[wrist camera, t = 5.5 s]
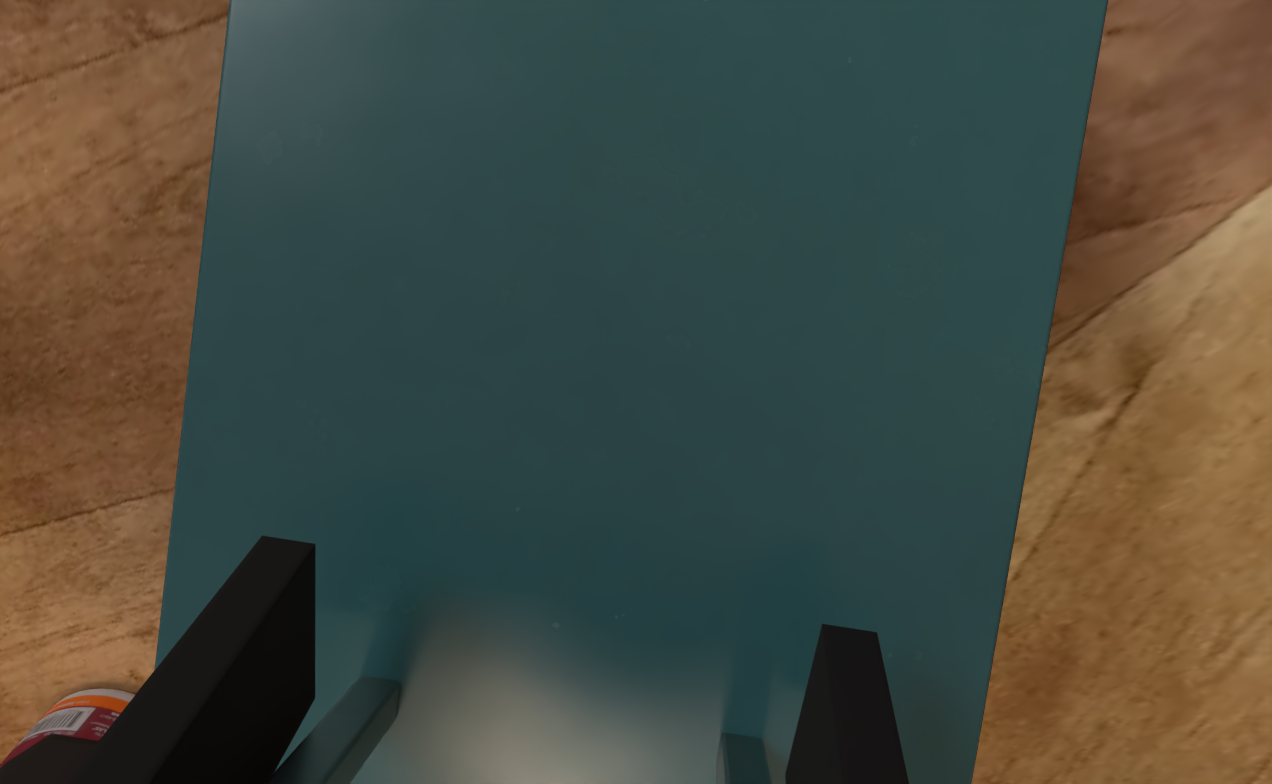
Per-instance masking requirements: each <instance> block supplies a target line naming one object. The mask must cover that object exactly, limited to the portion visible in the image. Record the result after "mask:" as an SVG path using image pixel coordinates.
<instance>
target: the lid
mask: <svg viewBox="0 0 1272 784" xmlns="http://www.w3.org/2000/svg"><path fill="white" fill-rule="evenodd" d="M1107 4H1108V0H230V3H229V12H228V21H227V30H226V39H225V48H224V57H223V65H222V74H221V83H220V92H219V101H218V110H217V119H216V128H215V137H214V146H213V154H212V163H211V172H210V181H209V190H208V199H207V208H206V217H205V226H204V235H203V244H202V252H201V261H200V270H199V279H198V288H197V297H196V306H195V315H194V324H193V333H192V341H191V350H190V359H189V368H188V377H187V386H186V395H185V404H184V413H183V422H182V431H181V439H180V448H179V457H178V466H177V475H176V484H175V493H174V502H173V511H172V520H171V528H170V537H169V546H168V555H167V564H166V573H165V582H164V591H163V600H162V609H161V617H160V626H159V635H158V644H157V653H156V662H155V670H156V668H157V667H158V666H159V664H160V663H161V662H162V661H163V659H164V658H165V657H166V656H167V654H168V653H169V652H170V651H171V649H172V648H173V647H174V646H175V644H176V643H177V642H178V641H179V639H180V638H181V637H182V636H183V634H184V633H185V632H186V631H187V629H188V628H189V627H190V626H191V624H192V623H193V622H194V620H195V619H196V618H197V617H198V615H199V614H200V613H201V612H202V610H203V609H204V608H205V607H206V605H207V604H208V603H209V602H210V600H211V599H212V598H213V597H214V595H215V594H216V593H217V592H218V590H219V589H220V588H221V587H222V585H223V584H224V583H225V582H226V580H227V579H228V578H229V577H230V575H231V574H232V573H233V571H234V570H235V569H236V568H237V566H238V565H239V564H240V563H241V561H242V560H243V559H244V558H245V556H246V555H247V554H248V553H249V551H250V550H251V549H252V548H253V546H254V545H255V544H256V543H257V541H258V540H259V539H260V538H261V536H262V535H263V536H269V537H275V538H282V539H288V540H294V541H301V542H307V543H314V544H316V590H315V700H314V701H313V703H312V705H311V707H310V709H309V710H308V712H307V714H306V716H305V718H304V720H303V721H302V723H301V725H300V727H299V729H298V730H297V732H296V734H295V736H294V738H293V739H292V741H291V743H290V745H289V747H288V748H287V750H286V752H285V754H284V756H283V758H282V759H281V761H280V763H279V765H278V767H277V768H276V770H275V772H274V773H273V775H272V776H271V777H270V778H269V779H268V780H267V781H266V782H265V784H786V779H785V773H786V769H787V765H788V761H789V757H790V753H791V748H792V744H793V740H794V736H795V732H796V728H797V724H798V720H799V716H800V712H801V708H802V704H803V700H804V696H805V691H806V687H807V683H808V679H809V675H810V671H811V667H812V663H813V659H814V655H815V651H816V647H817V643H818V639H819V634H820V630H821V626H822V624H828V625H834V626H840V627H847V628H853V629H859V630H866V631H872V632H877V634H878V639H879V643H880V648H881V653H882V658H883V662H884V667H885V672H886V677H887V681H888V686H889V691H890V696H891V700H892V705H893V710H894V714H895V719H896V724H897V729H898V733H899V738H900V743H901V748H902V752H903V757H904V762H905V767H906V771H907V776H908V781H909V784H971V783H972V777H973V772H974V766H975V760H976V755H977V749H978V743H979V737H980V732H981V726H982V720H983V714H984V709H985V703H986V697H987V692H988V686H989V680H990V674H991V669H992V663H993V657H994V651H995V646H996V640H997V634H998V629H999V623H1000V617H1001V611H1002V606H1003V600H1004V594H1005V588H1006V583H1007V577H1008V571H1009V566H1010V560H1011V554H1012V548H1013V543H1014V537H1015V531H1016V525H1017V520H1018V514H1019V508H1020V503H1021V497H1022V491H1023V485H1024V480H1025V474H1026V468H1027V463H1028V457H1029V451H1030V445H1031V440H1032V434H1033V428H1034V422H1035V417H1036V411H1037V405H1038V400H1039V394H1040V388H1041V382H1042V377H1043V371H1044V365H1045V359H1046V354H1047V348H1048V342H1049V337H1050V331H1051V325H1052V319H1053V314H1054V308H1055V302H1056V296H1057V291H1058V285H1059V279H1060V274H1061V268H1062V262H1063V256H1064V251H1065V245H1066V239H1067V233H1068V228H1069V222H1070V216H1071V211H1072V205H1073V199H1074V193H1075V188H1076V182H1077V176H1078V170H1079V165H1080V159H1081V153H1082V148H1083V142H1084V136H1085V130H1086V125H1087V119H1088V113H1089V107H1090V102H1091V96H1092V90H1093V85H1094V79H1095V73H1096V67H1097V62H1098V56H1099V50H1100V44H1101V39H1102V33H1103V27H1104V22H1105V16H1106V10H1107Z"/></svg>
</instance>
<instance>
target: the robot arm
mask: <svg viewBox="0 0 1272 784" xmlns="http://www.w3.org/2000/svg"><path fill="white" fill-rule="evenodd" d="M315 590H316V544H314V543H307V542H301V541H294V540H288V539H282V538H275V537H269V536H263V535H262V536H261V538H260V539H259V540H258V541H257V543H256V544H255V545H254V546H253V548H252V549H251V550H250V551H249V553H248V554H247V555H246V556H245V558H244V559H243V560H242V561H241V563H240V564H239V565H238V566H237V568H236V569H235V570H234V571H233V573H232V574H231V575H230V577H229V578H228V579H227V580H226V582H225V583H224V584H223V585H222V587H221V588H220V589H219V590H218V592H217V593H216V594H215V595H214V597H213V598H212V599H211V600H210V602H209V603H208V604H207V605H206V607H205V608H204V609H203V610H202V612H201V613H200V614H199V615H198V617H197V618H196V619H195V620H194V622H193V623H192V624H191V626H190V627H189V628H188V629H187V631H186V632H185V633H184V634H183V636H182V637H181V638H180V639H179V641H178V642H177V643H176V644H175V646H174V647H173V648H172V649H171V651H170V652H169V653H168V654H167V656H166V657H165V658H164V659H163V661H162V662H161V663H160V664H159V666H158V667H157V668H156V670H155V671H154V672H153V673H152V675H151V676H150V677H149V678H148V680H147V681H146V682H145V683H144V685H143V686H142V687H141V688H140V690H139V691H138V692H137V693H136V695H135V696H134V697H133V698H132V700H131V701H130V702H129V703H128V705H127V706H126V707H125V708H124V710H123V711H122V712H121V714H120V715H119V716H118V717H117V719H116V720H115V721H114V722H113V724H112V725H111V726H110V727H109V729H108V730H107V731H106V732H105V734H104V735H103V736H102V737H101V739H100V740H99V741H96V740H90V739H83V738H77V737H71V736H65V735H59V734H53V733H51V734H50V735H48V736H47V737H45V738H43V739H42V740H40V741H39V742H37V743H36V744H34V745H33V746H31V747H29V748H28V749H26V750H25V751H23V752H22V753H20V754H18V755H17V756H15V757H14V758H12V759H11V760H9V761H8V762H6V763H5V764H4V765H3V766H2V767H1V768H0V784H265V782H266V781H267V780H268V779H269V778H270V777H271V776H272V775H273V773H274V772H275V770H276V768H277V767H278V765H279V763H280V761H281V759H282V758H283V756H284V754H285V752H286V750H287V748H288V747H289V745H290V743H291V741H292V739H293V738H294V736H295V734H296V732H297V730H298V729H299V727H300V725H301V723H302V721H303V720H304V718H305V716H306V714H307V712H308V710H309V709H310V707H311V705H312V703H313V701H314V700H315ZM785 779H786V784H909V781H908V776H907V771H906V767H905V762H904V757H903V752H902V748H901V743H900V738H899V733H898V729H897V724H896V719H895V714H894V710H893V705H892V700H891V696H890V691H889V686H888V681H887V677H886V672H885V667H884V662H883V658H882V653H881V648H880V643H879V639H878V634H877V632H872V631H866V630H859V629H853V628H847V627H840V626H834V625H828V624H822V626H821V630H820V634H819V639H818V643H817V647H816V651H815V655H814V659H813V663H812V667H811V671H810V675H809V679H808V683H807V687H806V691H805V696H804V700H803V704H802V708H801V712H800V716H799V720H798V724H797V728H796V732H795V736H794V740H793V744H792V748H791V753H790V757H789V761H788V765H787V769H786V773H785Z"/></svg>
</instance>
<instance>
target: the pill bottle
mask: <svg viewBox="0 0 1272 784" xmlns="http://www.w3.org/2000/svg"><path fill="white" fill-rule="evenodd" d="M134 696H135V694H132V693H129V692H125V691H121V690H114V689H102V688H101V689H89V690H84V691H80V692H76V693H74V694H71V695H69V696H67V697H65V698H64V699H62V700H60V701H59V702H58V703H56V704H55V705H54V706H53V707H52V708H51V709H50V710H49V711H48V712H47V713H46V714H45V715H44V716H43V717H42V718H41V719H40V720H39V721H38V722H37V723H36V725H35V726H34V727H33V728H32V729H31V730H30V732H29V733H28V734H27V735H26V736H25V737H24V738H23V739H22V740H21V741H20V743H19V744H18V745H17V746H16V747H15V748H14V749H13V750H12V752H11V753H10V754H9V755H8V756H7V757H6V759H5V760H4V761H3V762H2V763H1V764H0V768H1V767H2V766H3V765H4V764H5V763H6V762H8V761H9V760H11V759H12V758H14V757H15V756H17V755H18V754H20V753H22V752H23V751H25V750H26V749H28V748H29V747H31V746H33V745H34V744H36V743H37V742H39V741H40V740H42V739H43V738H45V737H47V736H48V735H50V734H51V733H53V734H59V735H65V736H71V737H77V738H83V739H90V740H96V741H99V740H100V739H101V737H102V736H103V735H104V734H105V732H106V731H107V730H108V729H109V727H110V726H111V725H112V724H113V722H114V721H115V720H116V719H117V717H118V716H119V715H120V714H121V712H122V711H123V710H124V708H125V707H126V706H127V705H128V703H129V702H130V701H131V700H132V698H133V697H134Z"/></svg>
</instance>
